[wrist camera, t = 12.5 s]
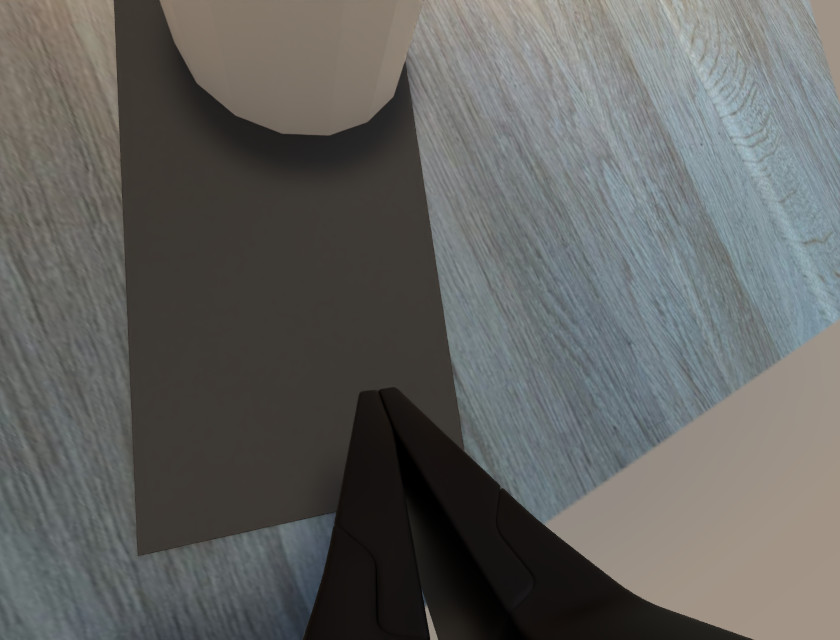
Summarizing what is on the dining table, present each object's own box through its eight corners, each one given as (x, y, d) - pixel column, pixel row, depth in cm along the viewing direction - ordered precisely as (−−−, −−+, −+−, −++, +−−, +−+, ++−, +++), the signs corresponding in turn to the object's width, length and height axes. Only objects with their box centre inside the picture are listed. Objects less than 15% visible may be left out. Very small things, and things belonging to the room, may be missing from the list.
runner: (467, 481, 24) (469, 481, 23) (139, 554, 19) (137, 556, 19) (392, -17, 28) (393, -20, 28) (112, -56, 24) (111, -60, 23)
